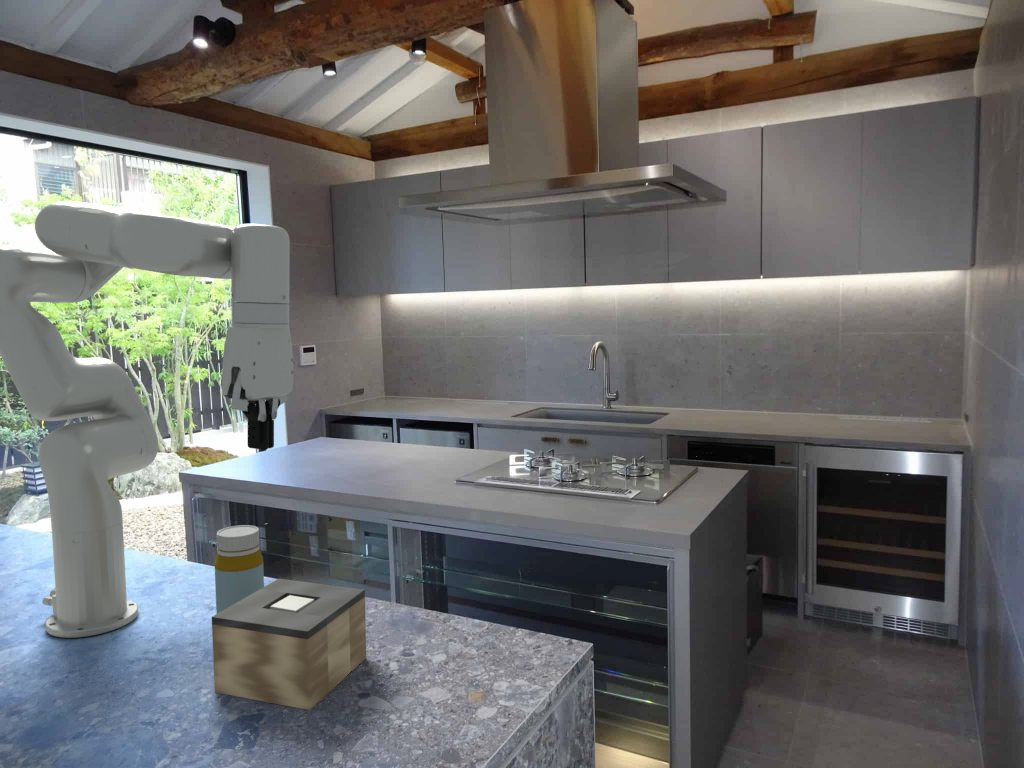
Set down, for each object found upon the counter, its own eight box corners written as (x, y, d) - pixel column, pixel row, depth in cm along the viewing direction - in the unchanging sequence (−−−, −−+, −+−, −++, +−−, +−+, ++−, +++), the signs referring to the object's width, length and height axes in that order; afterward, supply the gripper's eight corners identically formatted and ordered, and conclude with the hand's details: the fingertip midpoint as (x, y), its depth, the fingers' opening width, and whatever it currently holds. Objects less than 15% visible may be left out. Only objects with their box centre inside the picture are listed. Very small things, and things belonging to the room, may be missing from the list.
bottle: (249, 636, 108) (245, 539, 107) (207, 632, 110) (203, 536, 108) (273, 617, 115) (270, 525, 114) (234, 613, 117) (230, 523, 115)
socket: (214, 692, 92) (211, 616, 91) (280, 644, 106) (278, 578, 105) (309, 710, 88) (307, 631, 87) (366, 658, 101) (364, 589, 101)
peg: (272, 678, 96) (270, 606, 95) (291, 665, 100) (289, 595, 99) (297, 684, 94) (295, 610, 93) (316, 670, 98) (314, 599, 97)
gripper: (272, 315, 107) (272, 436, 109) (198, 315, 93) (200, 454, 95) (315, 317, 105) (314, 441, 107) (247, 317, 91) (247, 460, 93)
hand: (260, 447), depth 101 cm, fingers closed
